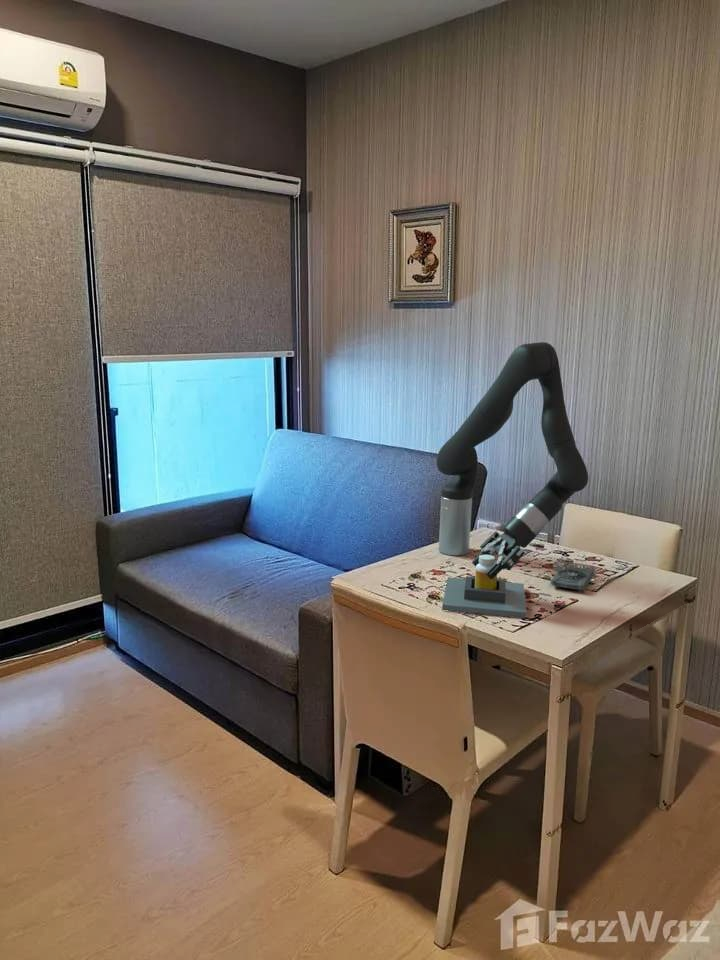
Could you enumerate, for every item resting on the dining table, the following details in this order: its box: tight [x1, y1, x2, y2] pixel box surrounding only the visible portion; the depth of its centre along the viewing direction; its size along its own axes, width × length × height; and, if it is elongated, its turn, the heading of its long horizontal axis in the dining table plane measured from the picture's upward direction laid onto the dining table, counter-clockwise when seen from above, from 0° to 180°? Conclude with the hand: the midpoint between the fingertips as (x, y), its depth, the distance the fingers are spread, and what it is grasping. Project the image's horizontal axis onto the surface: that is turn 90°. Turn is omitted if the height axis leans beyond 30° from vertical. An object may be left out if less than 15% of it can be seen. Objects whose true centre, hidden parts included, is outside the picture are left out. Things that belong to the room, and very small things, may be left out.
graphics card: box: [550, 560, 597, 591], centre depth 204 cm, size 17×4×12 cm
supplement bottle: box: [474, 555, 498, 590], centre depth 188 cm, size 5×5×10 cm
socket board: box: [441, 575, 527, 619], centre depth 189 cm, size 20×20×4 cm
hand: (481, 571), depth 187 cm, fingers open, 8 cm apart
